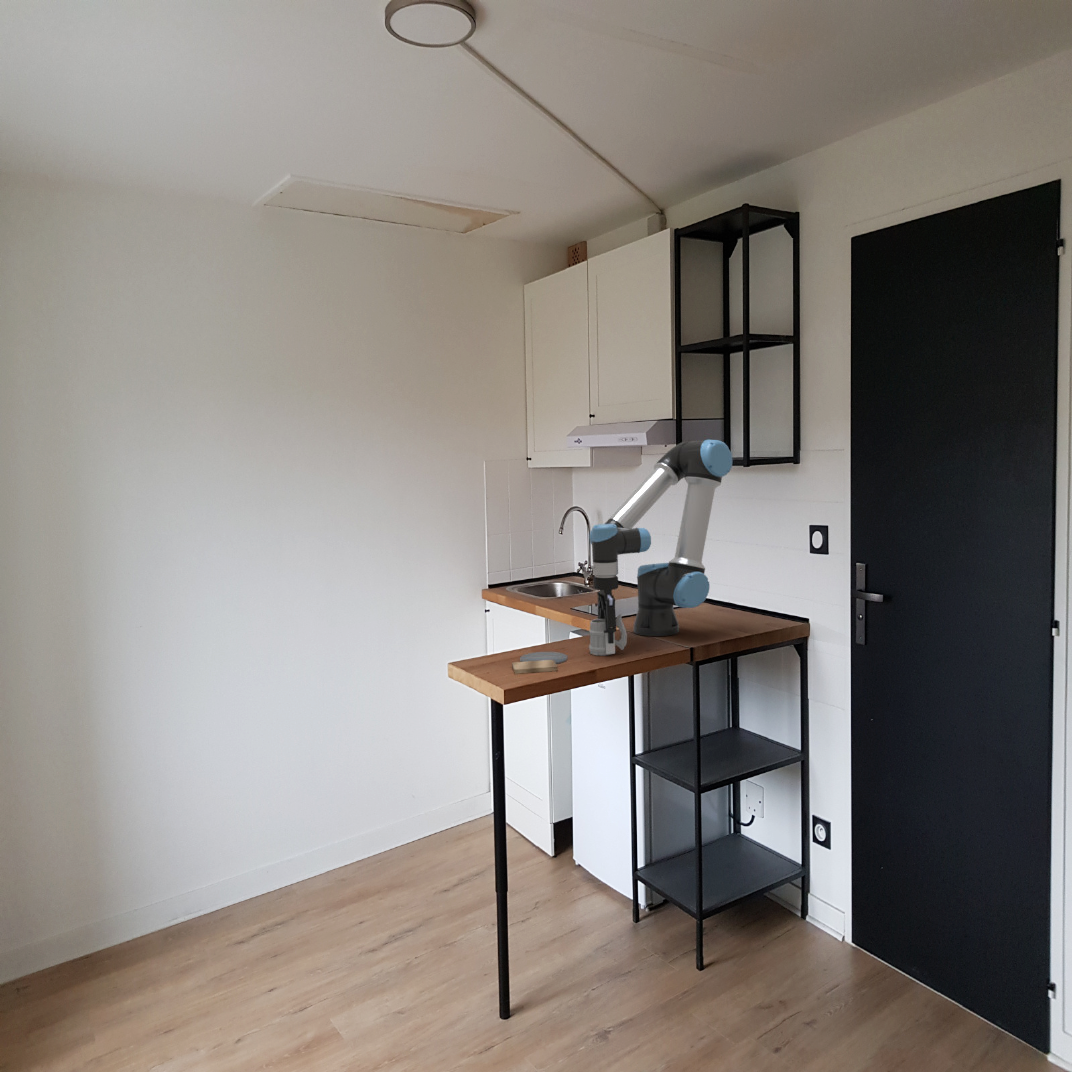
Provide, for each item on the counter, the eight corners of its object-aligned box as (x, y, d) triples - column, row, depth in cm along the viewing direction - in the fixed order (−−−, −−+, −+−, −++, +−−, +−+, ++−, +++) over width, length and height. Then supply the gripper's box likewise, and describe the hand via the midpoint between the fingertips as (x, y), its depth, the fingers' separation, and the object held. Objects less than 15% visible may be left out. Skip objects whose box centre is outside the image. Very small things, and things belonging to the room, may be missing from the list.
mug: (591, 649, 247) (590, 611, 246) (629, 650, 244) (628, 611, 243) (586, 655, 240) (585, 616, 239) (625, 656, 237) (624, 616, 236)
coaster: (563, 652, 245) (563, 650, 245) (571, 663, 231) (571, 661, 231) (517, 655, 243) (517, 653, 243) (522, 666, 229) (522, 664, 229)
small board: (553, 663, 232) (553, 659, 231) (557, 670, 224) (557, 666, 224) (512, 666, 230) (511, 662, 230) (514, 673, 222) (514, 669, 222)
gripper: (586, 571, 250) (588, 643, 252) (600, 581, 230) (602, 659, 232) (610, 570, 251) (611, 642, 253) (625, 580, 231) (627, 657, 233)
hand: (607, 650), depth 243 cm, fingers closed on mug, 8 cm apart
